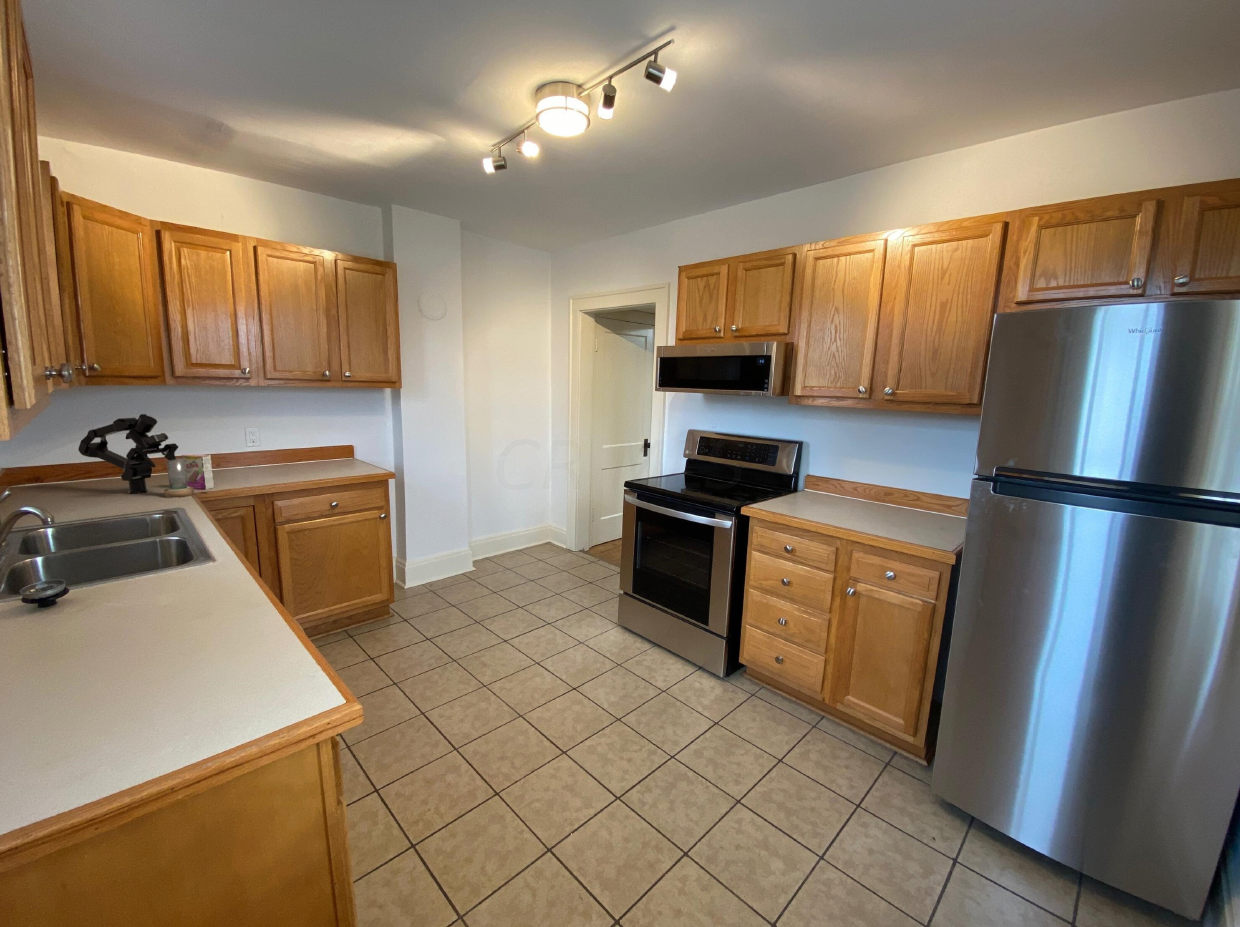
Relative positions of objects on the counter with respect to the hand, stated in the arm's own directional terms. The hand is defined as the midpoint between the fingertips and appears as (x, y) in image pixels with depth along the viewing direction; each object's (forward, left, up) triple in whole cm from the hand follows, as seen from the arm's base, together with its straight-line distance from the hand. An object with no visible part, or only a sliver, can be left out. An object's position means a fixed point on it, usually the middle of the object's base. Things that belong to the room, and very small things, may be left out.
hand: (165, 465), depth 228 cm
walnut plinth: (+4, +4, -14) cm, 15 cm away
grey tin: (+4, +4, -10) cm, 12 cm away
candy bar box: (-10, +10, -14) cm, 20 cm away
